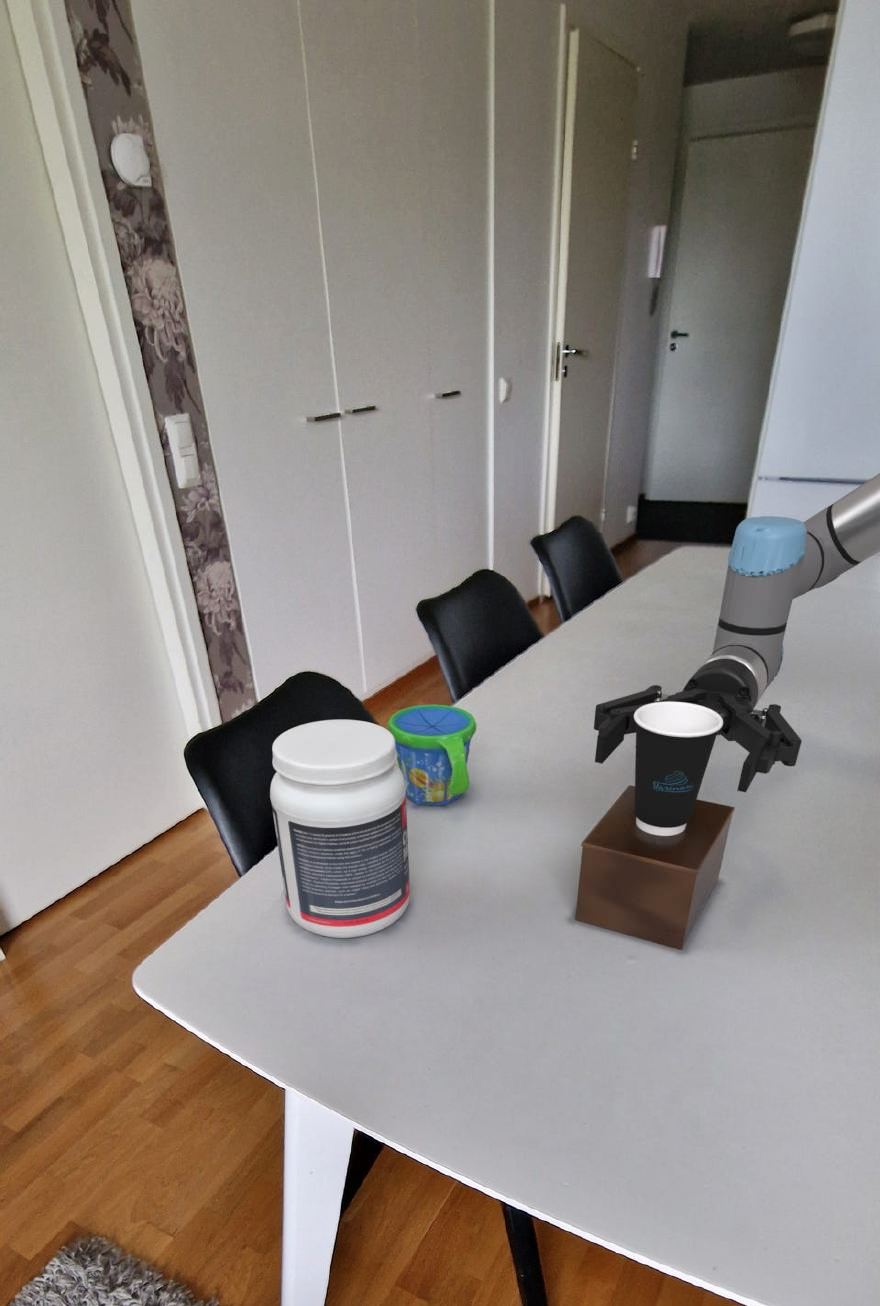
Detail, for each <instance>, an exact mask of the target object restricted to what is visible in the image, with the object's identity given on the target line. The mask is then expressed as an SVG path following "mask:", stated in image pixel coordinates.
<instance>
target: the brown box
mask: <svg viewBox="0 0 880 1306" xmlns="http://www.w3.org/2000/svg"><path fill="white" fill-rule="evenodd" d="M634 802H635V785H631V784H629V785H628V786H627V787H626V788H625V790H624V791H623V792H622V793H621V794H620V796H619V797H618V798H617V799H616V801H615V802H613V804H612V805H611V807H610V808H609V809H608V810H607V811H606V813H605V814H604V815H603V816H602V817H601V818H600V820H599V821H598V822H597V823H596V825H595V826H594V827H593V828H592V829H591V830H590V832H589V833H588V834H587V836H586V837H585V838H584V839H583V840H582V842H581V843H580V846H581V858H580V860H581V861H580V868H579V878H578V888H577V897H576V907H575V915H574V920H575V921H578V922H582V923H584V924H588V925H592V926H595V927H598V928H602V929H604V930H609V931H613V932H617V933H620V934H623V935H628V936H631V937H634V938H638V939H641V940H644V941H648V942H652V943H655V944H658V945H662V946H666V947H670V948H672V949H676V950H680V951H682V950H683V949H684V947H685V944H686V943H687V941H688V940H689V937H690V936H691V934H692V931H693V930H694V927H695V925H696V924H697V922H698V920H699V918H700V916H701V915H702V913H703V911H704V909H705V907H706V905H707V903H708V901H709V899H710V897H711V895H712V894H713V891H714V889H715V887H716V886H717V884H718V882H719V878H720V872H721V867H722V864H723V859H724V854H725V850H726V845H727V842H728V836H729V832H730V828H731V827H730V826H731V822H732V818H733V814H734V812H735V809H736V806H730V805H727V804H721V803H716V802H713V801H707V800H702V799H699V798H697V799H696V802H695V806H694V809H693V812H692V815H691V818H690V820H689V822H688V823H687V824H686V827H685V829H684V831H683V832H681V833H679V834H676V835H671V836H659V835H654V834H650V833H647V832H645V831H643V830H641V829H640V828H639V827H638V826H637V824H636V816H635V813H634Z"/></svg>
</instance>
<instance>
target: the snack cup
mask: <svg viewBox="0 0 880 1306" xmlns="http://www.w3.org/2000/svg"><path fill="white" fill-rule="evenodd" d="M387 730H388V731H389V732H390V733H391V734H392V735H393V736H394V738H395V744H396V751H397V760H396V762H397V766H398V767H399V768H400V770H401V771H402V773H403V776H404V779H405V783H406V799H408V800H410V801H413V802H414V803H415V804H416V805H417V806H421V805H425V806H431V807H434V806H447V805H448V804H449V803H452V802H454V801H456V800H457V799H458V798H460V796H461V795H462V794H463V793H465V792H466V791H467V790H468V789H469V787H470V777H469V772H468V761H469V755H470V746H471V741H472V738H473V736H474V735H475V733H476V731H477V723H476V719H475V717H474V716H473V715H472V714H471V713H470V712H469V711H467V710H465V709H462V708H459V707H456V706H452V705H445V704H420V705H414V706H409V707H406V708H402V709H400V710H398V711H396V712H395V713H394V714H392V716H391V717H390V718H389V720H388V722H387Z"/></svg>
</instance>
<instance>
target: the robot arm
mask: <svg viewBox="0 0 880 1306" xmlns="http://www.w3.org/2000/svg"><path fill="white" fill-rule="evenodd" d="M878 553H880V472H879V473H878V474H876V475H874V476H873V477H871V478H869V480H867V481H865V482H864V483H863V484H861V485H858V487H856V488H854V489H853V490H852V491H850V492H848V493H847V494H845V495H844V496H842V497H841V498H839V499H838V500H836V501H835V502H833V503H832V504H830V505H828V506H826V507H825V508H823V509H822V510H820V511H818V512H817V513H815V514H813V516H811V517H809V518H807V519H806V520H805V521H801V520H800V519H796V518H792V517H786V516H774V515H773V516H772V515H771V516H770V515H768V516H764V515H763V516H755V517H748V518H746V519H743V520H742V521H741V522H740V523H739V524H738V525H737V527H736V529H735V532H734V536H733V540H732V545H731V549H730V551H729V553H728V556H727V561H728V562H727V569H726V575H725V582H724V588H723V593H722V600H721V606H720V613H719V617H718V623H717V627H716V633H715V637H714V644H713V649H712V653H711V655H710V656H709V657H708V658H707V659H706V660H705V661H704V662H703V663H702V664H701V666H699V668H698V669H697V670H696V672H695V673H694V674H693V675H692V676H691V677H690V678H689V680H688V681H687V682H686V684H685V685H684V686H683V689H682V690H681V691H678V692H675V693H674V694H671V695H670V694H665V693H663V691H662V689H663V687H662V686H661V685H659V684H654V685H651V686H649V687H648V688H646V689H645V690H642V691H638V692H635V693H632V694H628V695H625V696H622V697H618V698H615V699H612V700H608V701H605V702H602V703H601V702H600V703H598V704H596V705H595V711H594V720H593V730H594V731H598V733H597V739H596V747H595V755H594V757H595V758H594V763H597V764H602V765H603V764H604V762H605V761H606V760H607V759H608V758H609V757H610V756H611V755H612V754H613V752H614V751H615V750H616V749H617V748H618V747H619V746H620V745H621V744H622V743H623V742H624V740H625V736H626V735H631V734H636V722H635V720H634V713H635V711H636V710H637V709H639V708H640V707H642V706H644V705H647V704H651V703H657V702H684V703H691V704H696V705H700V706H703V707H706V708H709V709H711V710H713V711H715V712H716V713H718V714H719V715H720V716H721V717H722V719H723V726H722V727H721V729H720V730H718V732H717V736H722V737H723V738H724V739H725V740H726V741H727V742H736V743H737V744H738V745H739V746H741V747H742V748H743V749H744V750H745V751H747V752H748V755H747V756H746V758H745V759H744V761H743V764H742V768H741V773H740V777H739V782H738V786H737V792H742V793H747V791H748V789H749V788H750V786H751V784H752V782H753V781H754V778H755V777H756V775H757V774H758V773H759V774H765V775H766V774H769V773H770V771H771V770H772V767H773V766H774V765H776V762H781V764H782V765H784V766H786V767H795V766H796V763H797V761H798V758H799V757H798V756H799V753H800V749H801V745H802V742H803V741H802V738H801V737H800V736H799V735H798V734H797V732H796V731H795V730H794V729H793V728H792V726H791V725H790V724H789V722H788V721H787V720H786V718H785V717H784V716H783V715H782V714H781V712H782V711H781V709H782V706H781V705H779V704H776V703H772V704H769V705H768V708H767V707H763V708H762V710H760V709H755V708H756V706H757V704H758V703H759V701H760V700H761V699H762V697H763V695H764V694H765V691H766V690H767V689H768V688H769V686H770V685H771V684H772V683H773V682H774V680H775V678H776V677H777V676H778V675H779V673H780V671H781V667H782V663H783V660H784V659H783V658H784V652H785V651H784V644H783V643H784V639H785V634H786V630H787V625H788V621H789V617H790V612H791V608H792V603H793V600H795V599H797V598H799V597H801V596H803V595H805V594H807V593H808V592H810V591H814V590H815V589H819V588H822V587H824V586H826V585H828V584H830V583H832V582H834V581H835V580H837V579H838V578H839V577H840V576H842V574H844V573H847V572H848V571H849V570H851V569H853V568H855V567H857V566H858V565H859V564H861V563H863V562H864V561H866V560H868V559H870V558H871V557H873V556H875V555H876V554H878Z"/></svg>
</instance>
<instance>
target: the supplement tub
mask: <svg viewBox="0 0 880 1306" xmlns="http://www.w3.org/2000/svg"><path fill="white" fill-rule="evenodd" d="M271 748H272V749H271V751H272V760H271V761H272V767H273V769H274V770H275V771H276V772H275V774H274V775H273V777H272V779H271V782H270V788H269V789H270V790H269V798H270V802H271V808H272V815H273V822H274V828H275V835H276V843H277V847H278V856H279V857H278V858H279V862H280V870H281V877H282V883H283V891H284V897H285V907H286V909H287V911H288V913H289V915H290V917H291V919H292V920H293V921H294V922H295V923H296V924H297V925H298V926H300V928H303V929H304V930H306V931H308V932H310V933H313V934H316V935H318V936H323V937H327V938H337V939H349V938H350V939H351V938H358V937H363V936H367V935H371V934H373V933H377V932H379V931H381V930H384V929H386V928H388V927H389V926H391V925H392V924H394V923H395V922H397V921H398V920H399V919H400V918H401V917H402V916H403V914H404V913H405V912H406V910H407V908H408V906H409V903H410V900H411V887H410V886H411V885H410V861H409V837H408V814H407V812H408V810H407V797H406V783H405V779H404V776H403V773H402V771H401V770H400V768H399V767H398V764H397V763H396V762H397V751H396V744H395V738H394V736H393V735H392V734H391V733H390V731H389V729H388V728H387V729H386V728H385V727H383V726H381V725H379V724H377V723H376V724H375V723H373V722H369V721H364V720H357V719H325V720H317V721H312V722H308V723H304V724H300V725H297V726H295V727H292V728H290V729H288V730H286V731H284V732H282V733H281V734H280V735H278V736H277V737H276V738H275V740H274V741H273V743H272V747H271Z"/></svg>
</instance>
